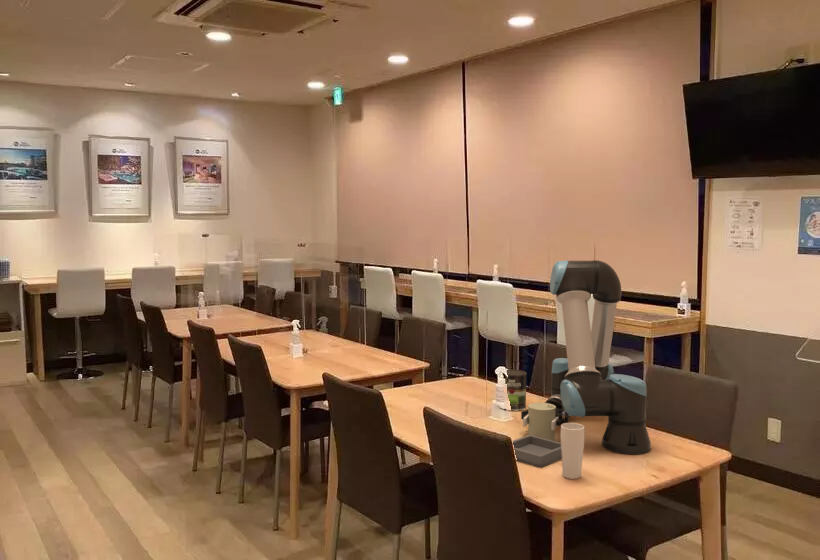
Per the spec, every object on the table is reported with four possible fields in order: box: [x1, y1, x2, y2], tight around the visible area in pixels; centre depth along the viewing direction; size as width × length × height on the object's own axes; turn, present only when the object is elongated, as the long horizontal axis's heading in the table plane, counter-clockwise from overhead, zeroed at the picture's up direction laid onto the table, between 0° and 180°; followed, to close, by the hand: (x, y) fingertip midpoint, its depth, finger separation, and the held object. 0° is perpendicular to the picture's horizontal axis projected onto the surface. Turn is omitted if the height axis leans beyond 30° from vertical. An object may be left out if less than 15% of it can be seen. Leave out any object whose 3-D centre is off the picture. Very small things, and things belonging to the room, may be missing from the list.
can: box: [527, 402, 556, 441], centre depth 247 cm, size 9×9×12 cm
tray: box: [512, 434, 562, 469], centre depth 231 cm, size 15×15×4 cm
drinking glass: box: [560, 422, 586, 480], centre depth 213 cm, size 7×7×15 cm
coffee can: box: [506, 369, 528, 412], centre depth 286 cm, size 10×10×14 cm
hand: (538, 424), depth 243 cm, fingers closed on can, 9 cm apart
